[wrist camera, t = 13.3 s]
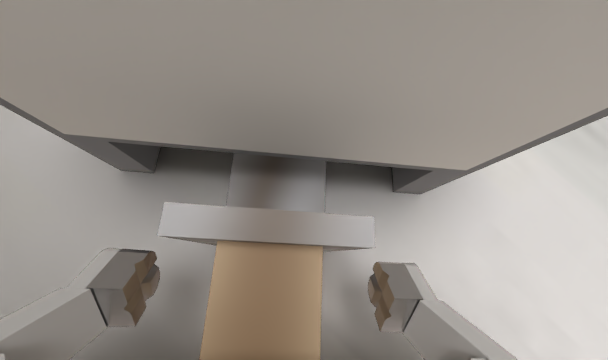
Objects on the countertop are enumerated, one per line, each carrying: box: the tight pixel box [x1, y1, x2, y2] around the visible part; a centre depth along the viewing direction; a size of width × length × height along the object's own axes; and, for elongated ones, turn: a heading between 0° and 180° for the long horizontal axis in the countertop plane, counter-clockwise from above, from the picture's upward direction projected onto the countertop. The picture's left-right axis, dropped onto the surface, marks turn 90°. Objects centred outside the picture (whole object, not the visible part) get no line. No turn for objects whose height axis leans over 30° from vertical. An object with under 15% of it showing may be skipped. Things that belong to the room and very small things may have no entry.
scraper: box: [157, 153, 375, 360], centre depth 13 cm, size 7×21×8 cm, turn 177°
